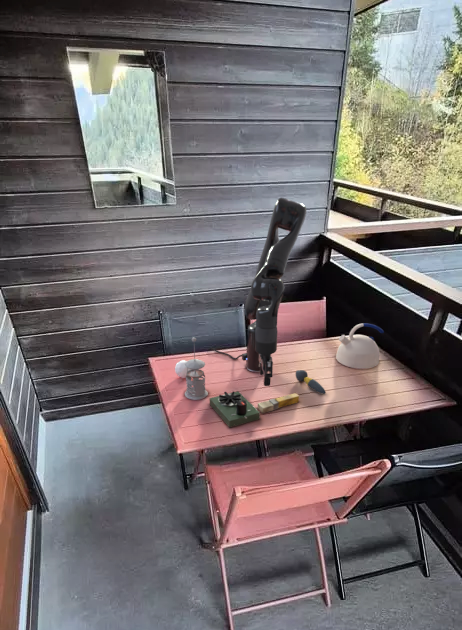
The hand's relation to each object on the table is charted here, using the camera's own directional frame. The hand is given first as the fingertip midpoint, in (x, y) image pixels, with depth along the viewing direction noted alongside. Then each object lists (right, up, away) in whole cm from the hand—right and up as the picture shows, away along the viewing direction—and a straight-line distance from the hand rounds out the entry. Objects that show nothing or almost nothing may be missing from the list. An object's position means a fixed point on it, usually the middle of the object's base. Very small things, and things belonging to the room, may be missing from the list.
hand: (264, 379), depth 160 cm
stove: (-11, -11, +14) cm, 21 cm away
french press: (-27, -2, +25) cm, 37 cm away
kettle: (+48, +16, +52) cm, 73 cm away
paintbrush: (+22, +1, +31) cm, 38 cm away
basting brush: (+7, -8, +18) cm, 21 cm away
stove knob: (-8, -12, +8) cm, 16 cm away
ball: (-33, +6, +37) cm, 50 cm away
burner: (-13, -6, +15) cm, 20 cm away
